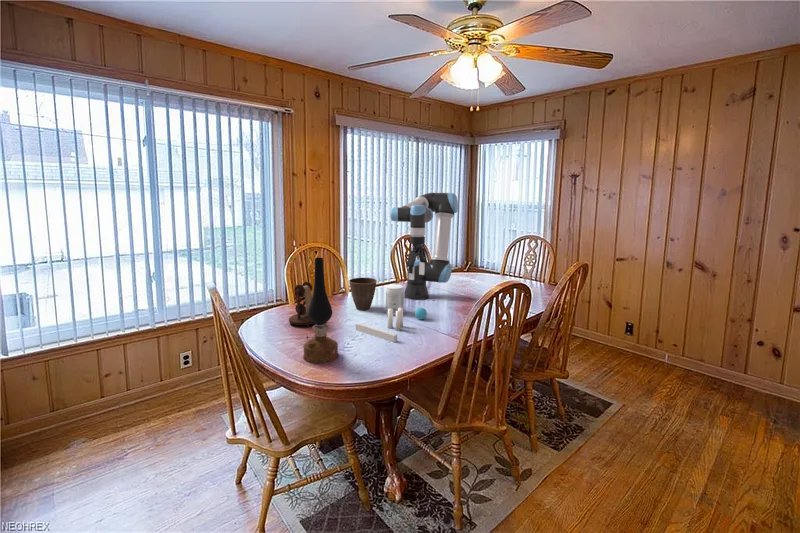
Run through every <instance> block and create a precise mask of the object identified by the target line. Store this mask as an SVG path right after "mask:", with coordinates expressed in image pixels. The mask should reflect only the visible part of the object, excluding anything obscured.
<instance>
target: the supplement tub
mask: <svg viewBox="0 0 800 533" xmlns="http://www.w3.org/2000/svg"><path fill="white" fill-rule="evenodd" d="M404 292H405V291H404V285H401V284H387V285H386V286H385V313H386V314H387V315H388V309H393V316H396V311H398V308H403V313H404V311H405V310H404V308H405V307H404V306H405V305H404V303H405V302H404V299H405V297H404Z"/></svg>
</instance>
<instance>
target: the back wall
mask: <svg viewBox="0 0 800 533" xmlns="http://www.w3.org/2000/svg"><path fill="white" fill-rule="evenodd" d="M355 331H358V332H360V333H361V332H362V333H364V334H367V335H370V336H374V337H377V338H379V339H381V340H382V339H383V340H385V341H388V340H389V342H391V341H392V343H396V341H397V342H398V334H397V333H393V332H390V331H386V330H383V329H380V328H377V327H374V326H371V325H367V324H363V323H361V322H357V323H355Z"/></svg>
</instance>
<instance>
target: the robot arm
mask: <svg viewBox="0 0 800 533" xmlns="http://www.w3.org/2000/svg"><path fill="white" fill-rule="evenodd" d="M389 212H390V213H389V214H390V216H389V217H390V220H391V221H392V222H397V223H400V222H401V223H402V222H404V223H410V228H409V231H410V234H409V235H410V237H409V243H410V244H412V246H409V250H408V251H409V252H408V257H407V261H406V262H407V263H406V267H407V268H406V269H407V273H406V274H407V275H406V276H407V278H406V279H407V280H406V281H407V282H406V287H405V291H404V299H405V298H406V299H408V300H415V301H419V300H425V299H428V298H429V296H430V295H429V294H430V293H429V291H428V286H427V282H432V283H439V284H442V283H443V284H444V283H445V284H446V283H447V282H449V280H450V279H451V277H452V272H453V265H452V264H451V263H450V259H449V258H448V256H449V255H448V254H449V245H450V244H449V243H450V234H451V223H452V219H453V218H454V216H455V214H457V213H458V212H459V201H458V196H457V195H456V193H452V192H427V193H425V194H422V195H419V196H417V197H415V199H414V200H413V201H411V202H408V203H407V204H405V205H402V206H400V207H398V206H397V207H396V206H395V207H392V208H391V209H390V211H389ZM434 215H435V216H436V226H435V234H434V245H433V254H432V257H431V258H430V259H429V261H428V260H427V254H426V247H425V246H426V245H425V244H426V237H425V236H426V224H427V223H429V222H431V221H432V220H433V218H434ZM417 257H418V259H417Z"/></svg>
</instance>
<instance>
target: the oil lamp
mask: <svg viewBox="0 0 800 533" xmlns="http://www.w3.org/2000/svg"><path fill="white" fill-rule="evenodd" d="M324 269H325V268H324V258H323V257H315V258H314V276H313V277H314V279H313V280H314V282H313V292H312V295H311V297H312V299H311V302H310V305H309V308H308V317H309V319H310V320H311V321H312V322H314V323H313V326H312V330H313V333H314V336H308V334H307V335H306V340H307V341H306V342H305V343H304V344H303V357H302V358H303V361H305V362H307V363H310V364H326V363H327V364H328V363H332V362H334V361H335V360H337V359H338V358H339V353H338V349H339V348H338V345H339V344H338V342H337V340H334V339H332V338H330V337H329V336H327V331H328V329H329V325H328V324H327V323H328V322H329V320H330V319H331V318H332V316H333V308H332V305H331V303H330V301H329V297H328V295H327V294H328V293H327V292H326V290H327V289H326V285H325V284H326V282H325V272H324V271H325V270H324ZM309 338H311V339H309ZM308 339H309V340H308Z"/></svg>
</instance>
